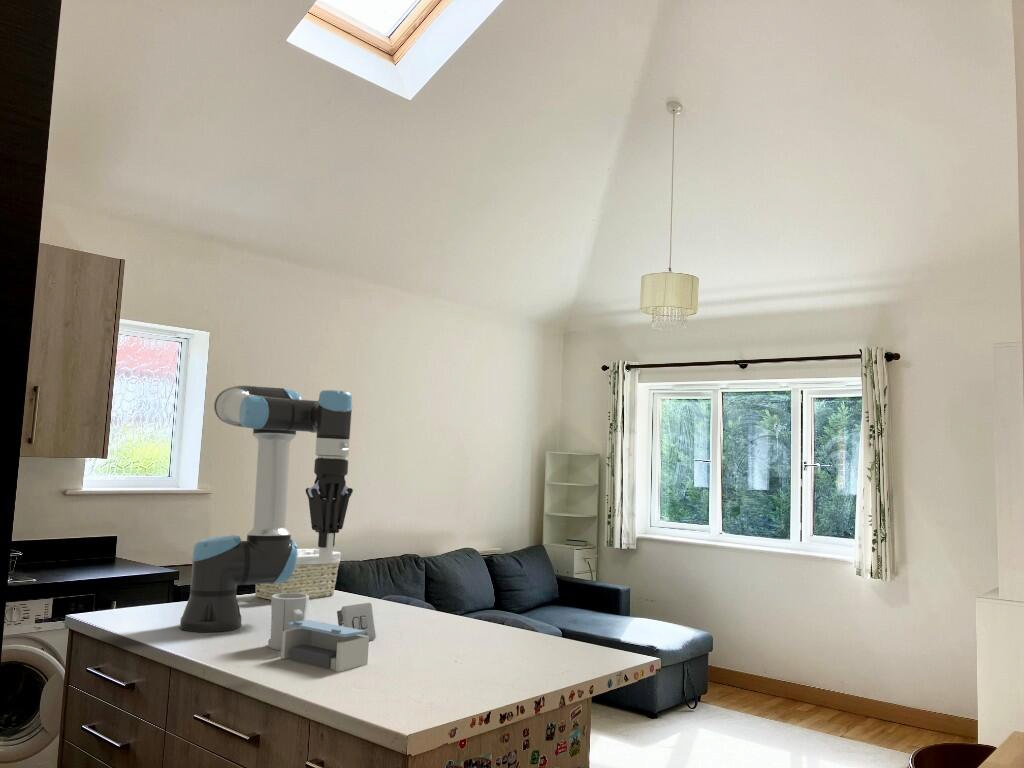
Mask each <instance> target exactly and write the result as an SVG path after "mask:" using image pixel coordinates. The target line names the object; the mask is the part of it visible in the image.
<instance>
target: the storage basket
mask: <svg viewBox="0 0 1024 768" xmlns="http://www.w3.org/2000/svg"><path fill="white" fill-rule="evenodd" d="M341 555H342V554H341V552H340V551H333V553H332V562H330V563H325V562H319V548H314V547H313V548H297V561H296V566H295V569H294V572H293V574H292V575H291V577H290V578H289V579H288V580H287V581H286V582H282V583H274V584H254V585H255V586H254V588H255V592H254V594H255V597H258V598H260V599H265V600H270V601H271V596H272V595H274V594H280V593H301V594H306V595H309V600H310V599H311V600H312V599H317V598H325V597H330V596H334V595H335V588H336V583H337V577H338V570H339V566H340V562H341Z"/></svg>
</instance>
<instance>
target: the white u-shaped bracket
mask: <svg viewBox="0 0 1024 768" xmlns="http://www.w3.org/2000/svg"><path fill="white" fill-rule="evenodd" d="M369 643H370V641H369V637H368V636H363V635H353V636H347V637H341V636H336V635H331V634H326V633H322V632H317V631H312V630H307V629H302V628H296V629H291V630H286V631H283V634H282V649H281V650H280V651H281V652H280V653H281V654H280V659H281V660H286V659H290V650H291V647H293V646H298V645H302V644H306V645H310V646H315V647H319V648H324V649H329V650H333V651H337V655H336V670H335V672H337V673H339V672H343V671H348V670H351V669H354V668H359V667H362V666H365V665H366V666H367V665H368V662H369V661H368V660H369V645H370V644H369Z"/></svg>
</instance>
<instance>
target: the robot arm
mask: <svg viewBox="0 0 1024 768" xmlns="http://www.w3.org/2000/svg"><path fill="white" fill-rule="evenodd" d="M318 395H319V397H318V400H309V399H303V398H302V397H301V395H300V394H299V392H297V391H296V390H295V389H294V390H293V389H288V388H283V387H281V388H280V387H268V386H266V387H265V386H255V385H235V386H231V387H228V388H225V389H224V390H222V391H220V392H219V394H218V395H217V396H216V397H215V400H214V404H213V411H214V412H215V415H216V417H217V418H218V419H219V420H220V421H221V422H223V423H225V424H228V425H231V426H235V427H239V428H240V427H241V428H247V429H252V436H253V437H254V438H255V439H257V442H258V444H257V445H258V446H257V459H256V460H257V461H256V474H255V475H256V478H255V491H254V492H255V493H254V494H255V495H254V507H253V508H254V510H253V511H254V512H253V513H254V514H253V527H252V529H250V531H248V533H246V540H242V539H241V536H240V535H234V534H233V535H220V536H219V535H218V536H214V537H208V538H203V539H200V540H198V541H197V542H196V543H195V544H194V547H193V553H192V558H191V561H192V563H191V564H192V565H191V578H190V590H189V598H188V600H187V603H186V606H185V608H184V611H183V613H182V616H181V618H180V625H179V627H180V629H182V630H184V631H189V632H196V633H197V632H199V633H200V632H201V633H208V632H209V633H212V632H213V633H214V632H215V633H216V632H227V631H231V630H235V629H239V628H240V627H242V618H243V617H242V614H241V611H240V605H239V603H238V602H239V601H238V598H237V590H238V586H241V585H242V586H243V585H256V584H274V583H282V582H286V581H287V580H288V579H289V578H290V577H291V575H292V574H293V572H294V569H295V566H296V561H297V549H298V545H297V542H296V541H295V540H294V539H291V536H292V535H291V532H290V531H289V530H288V529H287V527H286V526H287V525H286V524H287V523H286V522H287V504H288V487H289V486H288V485H289V466H290V452H291V451H290V446H291V441H293V440H294V439H295V438H296V437H297V432H306V433H307V432H309V433H313V434H314V433H316V438H315V439H316V441H315V456H316V457H317V458H315V459H314V468H313V469H314V470H313V472H314V474H315V477H316V478H315V479H314V484H313V485H312V486H311V487H307V488H306V489H305V494H306V496H307V499H308V506H309V514H310V515H309V516H310V523H311V529H312V531H314V532H315V533H318V541H317V546H318V549H319V562H325V563H330V562H332V553H333V549H334V547H335V542H336V541H335V539H336V534H338V533H339V532H340V530H342V529H343V528H344V523H345V518H346V513H347V510H348V506H349V501H350V498H351V496H352V494H353V492H354V489H353V488H352V487H348V486H347V482H346V479H345V477H346V476H347V475H348V474H349V473H348V472H349V460H348V459H346V458H347V457H349V454H350V453H349V451H350V437H351V436H350V435H351V425H352V424H351V423H352V410H353V398H352V397H353V396H352V394H351V392H349V391H346V390H336V389H335V390H332V389H325V390H324V389H323V390H321V391H320V392H319V394H318Z"/></svg>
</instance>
